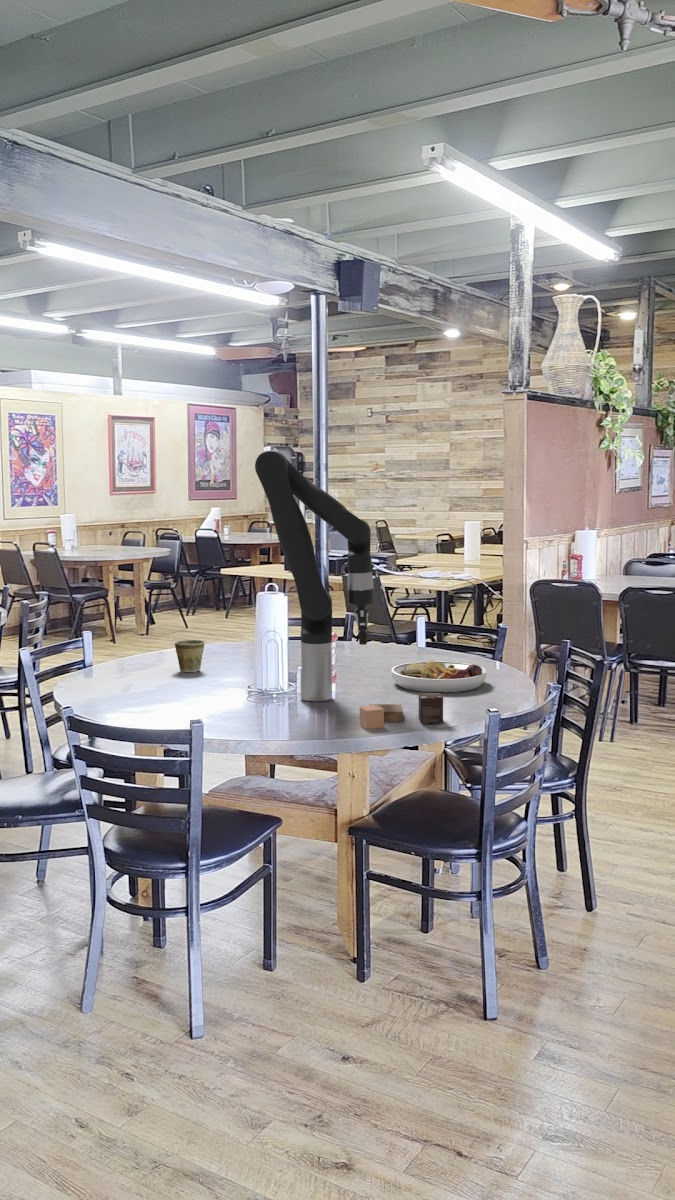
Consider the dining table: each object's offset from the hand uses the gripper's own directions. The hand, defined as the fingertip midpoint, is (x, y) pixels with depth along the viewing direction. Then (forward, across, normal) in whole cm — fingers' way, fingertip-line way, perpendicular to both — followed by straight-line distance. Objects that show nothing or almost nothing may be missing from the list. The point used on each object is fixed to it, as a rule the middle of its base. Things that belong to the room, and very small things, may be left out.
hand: (362, 641), depth 298 cm
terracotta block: (+17, +33, +1) cm, 37 cm away
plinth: (+18, +23, +5) cm, 29 cm away
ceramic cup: (+15, -46, -58) cm, 76 cm away
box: (+18, +28, +17) cm, 37 cm away
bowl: (+19, -21, +24) cm, 37 cm away
